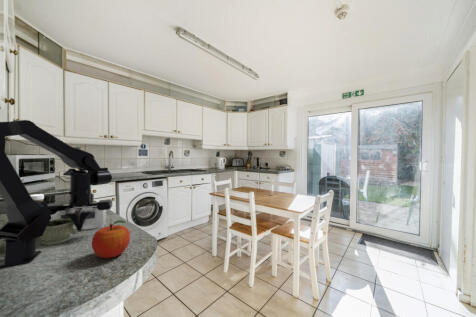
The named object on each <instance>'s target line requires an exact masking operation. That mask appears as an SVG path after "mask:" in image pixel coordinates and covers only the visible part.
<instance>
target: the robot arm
mask: <svg viewBox="0 0 476 317" xmlns="http://www.w3.org/2000/svg"><path fill="white" fill-rule="evenodd" d="M13 136H19V137H21V138H24V139H25V140H27V141H29V142H31V143H33V144H34V145H37V147H40V148H42V149H44V150H46V151H48V152H49V153H52V154H53V155H56V156H57V157H59V158H60V160H61V161H62V162H63V163H64V164H65V165H66V166H68V167H69V169H68V170H67V171H64V172H63V174H62V176H67V177H68V176H69V177H70V180H69V188H70V190H69V192H68V194H69V203H68V204H64V202H58V203H57V202H54V203H49V204H48V203H47V201H45V200H43V201H38V200H33V199H32V197H31V196H30V195H31V194H30V192H29V191H28V189H27V187H26V186H25V184H24V182H23V181H22V179H21V177H20V176H19V174H18V172H17V170H16V168H15V167H14V165H13V164H12V161H11V160H10V158H9V157H8V155H7V153H6V144H7V143H6V142H7V139H6V137H13ZM76 169H77V170H76ZM112 179H113V176H112V173H111V171H109V168H108V167H101V166H100V165H99V164H98V162H97V161H96V159H95V156H94V154H92V153H90V152H88V151H86V150H82V149H79V148H77V147H76V148H75V147H73V146H71V145H69V144H68V143H66V142H65V141H63V140H61V139H59V138H57V137H56V136H54V135H53V134H51V133H49V132H48V131H46V130H45V129H42V128H41V126H37V124H36V123H34V122H33V121H31V120H28V119H21V120H20V119H18V120H12V121H0V197H1V199H3V201H4V203H5V204H6V208H7V209H6V217H7V222H6V223H5V224H4V225H3V226H2V227H1V228H0V240H4V257H3V260H2V261H1V262H0V268H5V267H9V266H16V265H22V264H29V263H31V262H32V261H34V259H36V258H37V257H38V256H39V255H40V254H41V253H42V250H37V243H36V238H37V237H40V236H43V233H44V231H45V229H46V226H47V225H48V223H49V221H51V220H52V215H54V214H55V213H56V212H58V211H66V214H65V216H69V217H70V219H71V220H72V221H73V223H74V224H75V226H76V228H77V230H78V231H77V232H81V231H83V230H82V228H83V225H84V223H85V220H86V218H87V216H88V214H90V213H92V212H93V211H94V209H93V208H97V209H98V210H106V211H108V210H111V209H112V207H113V200H112V199H100V200H99V201H98V202H94V196H95V195H94V193H92V186H94V187H95V186H100V185H101V186H102V185H108V184H110V183H111V182H112ZM78 209H82V210H83V211H82V212H81V213H80V210H78Z"/></svg>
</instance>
